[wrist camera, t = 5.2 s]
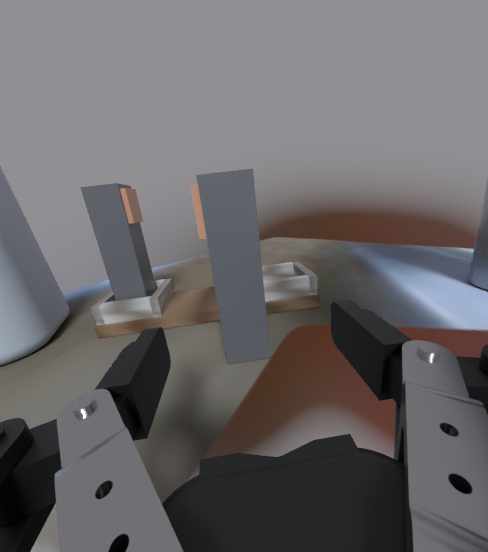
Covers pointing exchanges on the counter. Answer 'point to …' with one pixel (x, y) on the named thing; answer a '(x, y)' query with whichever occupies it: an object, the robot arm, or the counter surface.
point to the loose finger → (234, 260)
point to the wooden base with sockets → (201, 302)
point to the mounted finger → (120, 239)
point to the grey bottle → (24, 285)
